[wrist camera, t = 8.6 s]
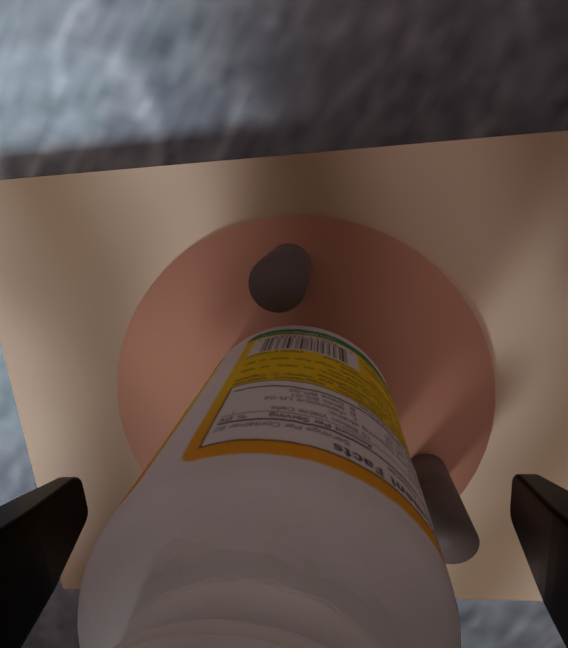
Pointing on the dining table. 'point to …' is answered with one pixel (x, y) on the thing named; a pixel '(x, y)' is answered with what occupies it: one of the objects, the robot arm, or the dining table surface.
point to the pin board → (303, 314)
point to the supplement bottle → (275, 516)
